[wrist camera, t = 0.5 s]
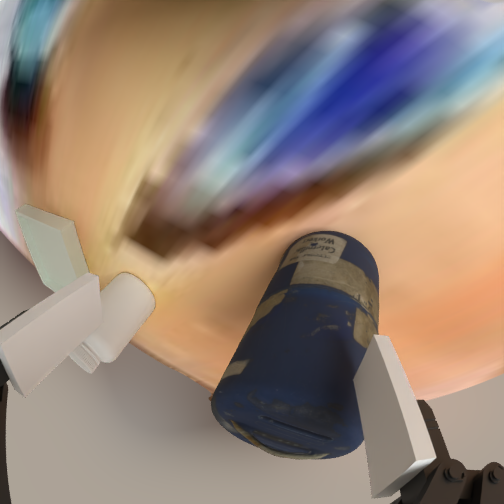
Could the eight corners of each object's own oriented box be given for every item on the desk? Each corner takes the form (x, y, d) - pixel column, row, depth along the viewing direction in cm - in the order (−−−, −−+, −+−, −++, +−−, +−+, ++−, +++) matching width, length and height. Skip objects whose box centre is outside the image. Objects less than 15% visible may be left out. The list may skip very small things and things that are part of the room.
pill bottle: (129, 305, 44) (76, 367, 32) (111, 267, 40) (47, 331, 28) (164, 315, 41) (108, 388, 29) (146, 274, 37) (77, 350, 25)
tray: (25, 203, 42) (14, 210, 40) (73, 221, 37) (60, 230, 35) (51, 276, 54) (43, 284, 52) (103, 307, 49) (94, 317, 47)
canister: (337, 317, 29) (295, 478, 15) (265, 271, 29) (180, 429, 15) (399, 263, 23) (398, 466, 9) (317, 203, 23) (235, 405, 9)
